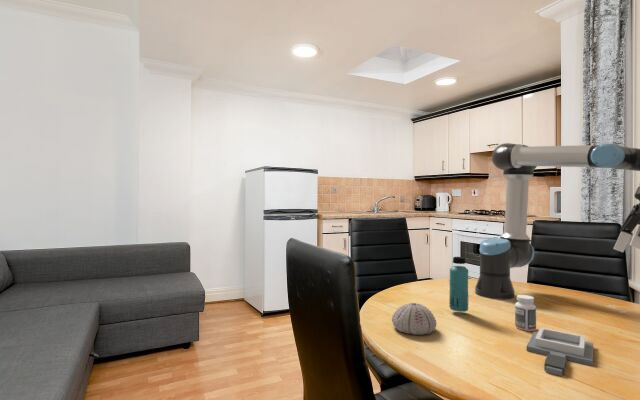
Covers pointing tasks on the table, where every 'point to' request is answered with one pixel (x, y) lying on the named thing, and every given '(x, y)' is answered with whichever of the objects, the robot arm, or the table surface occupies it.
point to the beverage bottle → (459, 286)
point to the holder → (560, 349)
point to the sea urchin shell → (414, 319)
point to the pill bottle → (525, 313)
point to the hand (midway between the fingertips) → (626, 248)
